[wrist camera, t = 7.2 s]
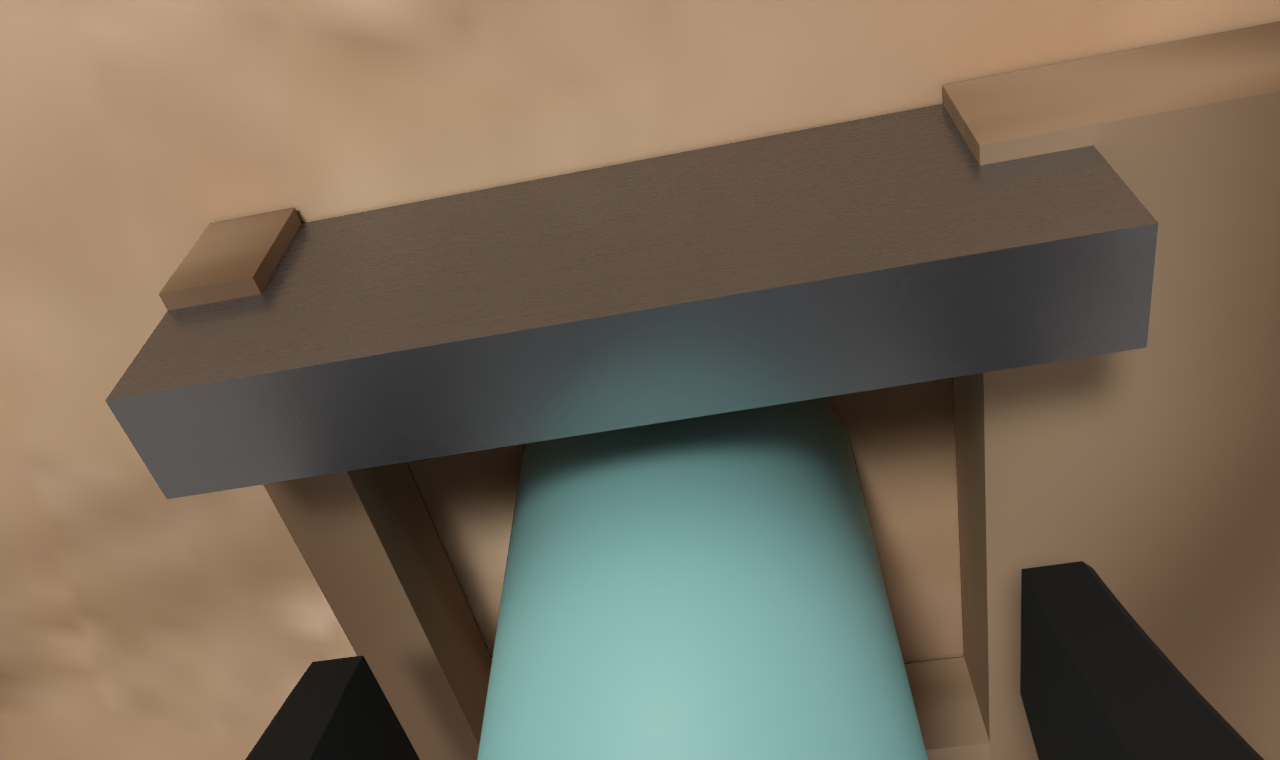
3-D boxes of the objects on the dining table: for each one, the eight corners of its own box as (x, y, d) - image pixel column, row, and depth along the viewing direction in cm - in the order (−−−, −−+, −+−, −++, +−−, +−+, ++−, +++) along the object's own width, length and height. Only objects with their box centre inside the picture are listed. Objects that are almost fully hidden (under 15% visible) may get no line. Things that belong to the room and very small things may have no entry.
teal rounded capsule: (829, 316, 12) (949, 767, 8) (871, 571, 15) (981, 1036, 10) (474, 386, 13) (372, 845, 8) (572, 620, 16) (538, 1079, 11)
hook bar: (1043, 85, 11) (1158, 222, 8) (1040, 190, 11) (1147, 346, 9) (218, 239, 12) (104, 401, 9) (261, 327, 12) (166, 499, 10)
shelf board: (1530, -27, 10) (1651, 22, 9) (1251, 971, 21) (1287, 1052, 20) (210, 223, 12) (159, 294, 10) (604, 1024, 23) (602, 1102, 22)
